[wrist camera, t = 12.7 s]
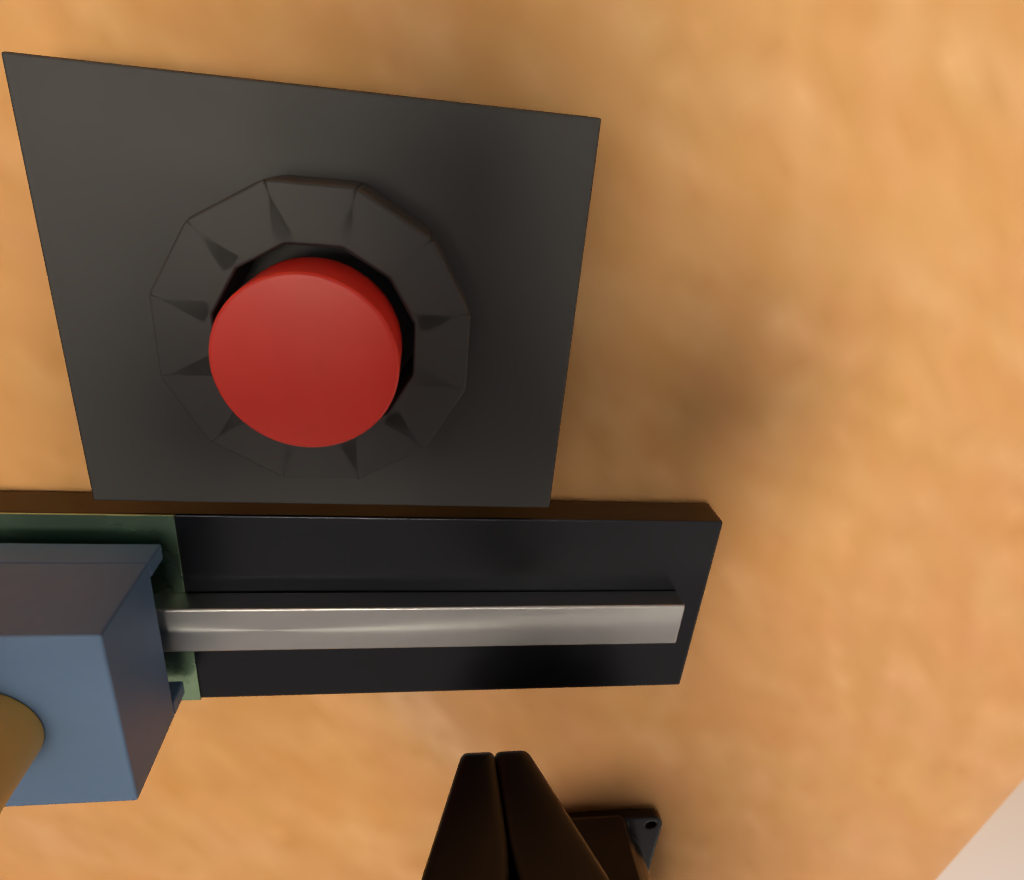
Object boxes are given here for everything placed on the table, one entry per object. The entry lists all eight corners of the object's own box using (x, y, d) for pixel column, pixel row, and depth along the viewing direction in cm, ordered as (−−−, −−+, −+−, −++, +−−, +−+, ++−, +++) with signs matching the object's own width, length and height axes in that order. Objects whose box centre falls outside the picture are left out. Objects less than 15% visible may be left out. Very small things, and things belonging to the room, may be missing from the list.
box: (537, 472, 20) (561, 544, 16) (128, 462, 18) (56, 540, 15) (580, 120, 16) (625, 114, 12) (58, 63, 14) (-66, 36, 11)
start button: (401, 418, 15) (397, 451, 13) (239, 413, 14) (216, 446, 13) (404, 262, 13) (401, 278, 12) (224, 249, 13) (196, 264, 11)
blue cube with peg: (185, 692, 20) (103, 880, 15) (-27, 697, 19) (-191, 900, 14) (159, 531, 18) (50, 690, 12) (-85, 528, 17) (-311, 699, 12)
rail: (668, 661, 24) (721, 772, 20) (-172, 679, 20) (-336, 825, 16) (708, 503, 21) (780, 593, 17) (-263, 485, 17) (-493, 599, 13)
